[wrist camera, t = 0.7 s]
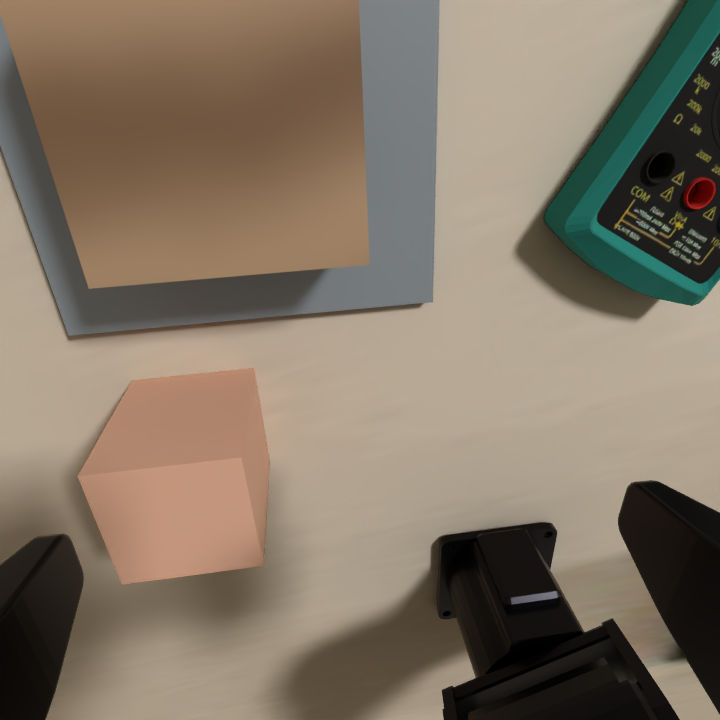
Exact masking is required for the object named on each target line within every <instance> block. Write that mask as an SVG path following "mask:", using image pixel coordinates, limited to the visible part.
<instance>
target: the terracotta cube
mask: <svg viewBox="0 0 720 720" xmlns="http://www.w3.org/2000/svg"><path fill="white" fill-rule="evenodd" d="M269 468H270V458H269V453H268V447H267V441H266V435H265V429H264V423H263V417H262V412H261V406H260V400H259V394H258V388H257V382H256V376H255V370H254V368H249V369H239V370H229V371H220V372H210V373H200V374H190V375H180V376H170V377H160V378H150V379H140V380H132V381H131V383H130V385H129V387H128V388H127V390H126V392H125V394H124V395H123V397H122V399H121V401H120V402H119V404H118V406H117V408H116V409H115V411H114V413H113V415H112V416H111V418H110V420H109V422H108V424H107V425H106V427H105V429H104V431H103V432H102V434H101V436H100V438H99V439H98V441H97V443H96V445H95V446H94V448H93V450H92V452H91V453H90V455H89V457H88V459H87V460H86V462H85V464H84V466H83V467H82V469H81V471H80V473H79V474H78V476H77V477H78V479H79V481H80V484H81V486H82V489H83V491H84V494H85V496H86V498H87V501H88V503H89V506H90V508H91V511H92V513H93V516H94V518H95V520H96V523H97V525H98V528H99V530H100V533H101V535H102V537H103V540H104V542H105V545H106V547H107V550H108V552H109V555H110V557H111V559H112V562H113V564H114V567H115V569H116V572H117V574H118V577H119V579H120V581H121V584H122V585H124V584H131V583H139V582H146V581H154V580H161V579H169V578H176V577H184V576H191V575H199V574H206V573H214V572H221V571H229V570H236V569H244V568H251V567H259V566H264V550H265V534H266V517H267V501H268V485H269Z"/></svg>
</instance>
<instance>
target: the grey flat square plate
mask: <svg viewBox="0 0 720 720" xmlns="http://www.w3.org/2000/svg"><path fill="white" fill-rule="evenodd" d="M359 15H360V39H361V64H362V88H363V113H364V137H365V162H366V186H367V211H368V235H369V260H370V265H362V266H350V267H339V268H327V269H315V270H303V271H292V272H280V273H268V274H257V275H245V276H233V277H221V278H210V279H198V280H186V281H174V282H163V283H151V284H139V285H127V286H116V287H104V288H92V289H89V288H88V285H87V281H86V278H85V275H84V272H83V269H82V266H81V263H80V260H79V257H78V254H77V250H76V247H75V244H74V241H73V238H72V235H71V232H70V229H69V226H68V223H67V220H66V216H65V213H64V210H63V207H62V204H61V201H60V198H59V195H58V192H57V189H56V185H55V182H54V179H53V176H52V173H51V170H50V167H49V164H48V161H47V158H46V154H45V151H44V148H43V145H42V142H41V139H40V136H39V133H38V130H37V127H36V123H35V120H34V117H33V114H32V111H31V108H30V105H29V102H28V99H27V96H26V92H25V89H24V86H23V83H22V80H21V77H20V74H19V71H18V68H17V65H16V61H15V58H14V55H13V52H12V49H11V46H10V43H9V40H8V37H7V34H6V30H5V27H4V24H3V21H2V18H1V15H0V147H1V150H2V152H3V155H4V158H5V161H6V164H7V166H8V169H9V172H10V175H11V177H12V180H13V183H14V186H15V189H16V191H17V194H18V197H19V200H20V202H21V205H22V208H23V211H24V214H25V216H26V219H27V222H28V225H29V227H30V230H31V233H32V236H33V239H34V241H35V244H36V247H37V250H38V252H39V255H40V258H41V261H42V264H43V266H44V269H45V272H46V275H47V277H48V280H49V283H50V286H51V289H52V291H53V294H54V297H55V300H56V303H57V305H58V308H59V311H60V314H61V316H62V319H63V322H64V325H65V328H66V330H67V333H68V336H72V335H83V334H93V333H104V332H115V331H126V330H136V329H147V328H158V327H169V326H180V325H190V324H201V323H212V322H223V321H234V320H244V319H255V318H266V317H277V316H288V315H298V314H309V313H320V312H331V311H342V310H352V309H363V308H374V307H385V306H395V305H406V304H417V303H428V302H433V273H434V227H435V181H436V135H437V88H438V42H439V0H359Z"/></svg>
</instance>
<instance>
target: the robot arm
mask: <svg viewBox="0 0 720 720" xmlns="http://www.w3.org/2000/svg"><path fill="white" fill-rule="evenodd" d="M618 526H619V530H620V533H621V535H622V538H623V540H624V542H625V544H626V546H627V548H628V550H629V552H630V554H631V556H632V558H633V560H634V562H635V564H636V566H637V568H638V570H639V573H640V575H641V577H642V579H643V581H644V583H645V585H646V587H647V589H648V591H649V593H650V595H651V597H652V599H653V601H654V603H655V605H656V607H657V609H658V611H659V613H660V615H661V617H662V619H663V621H664V622H665V624H666V626H667V628H668V629H669V631H670V633H671V635H672V636H673V638H674V640H675V641H676V643H677V645H678V646H679V648H680V650H681V651H682V653H683V654H684V656H685V658H686V659H687V661H688V663H689V664H690V666H691V668H692V669H693V671H694V673H695V674H696V676H697V678H698V679H699V681H700V683H701V684H702V686H703V688H704V689H705V691H706V693H707V694H708V696H709V697H710V699H711V701H712V702H713V704H714V706H715V707H716V709H717V711H718V712H719V714H720V513H719V512H717V511H715V510H713V509H711V508H709V507H707V506H705V505H704V504H702V503H700V502H698V501H696V500H694V499H692V498H690V497H688V496H686V495H684V494H682V493H680V492H678V491H676V490H674V489H672V488H670V487H668V486H666V485H664V484H662V483H660V482H658V481H652V480H650V481H639V482H633V483H631V484H630V485H629V486H628V487H627V490H626V493H625V496H624V500H623V503H622V506H621V510H620V513H619V517H618ZM556 537H557V530H556V529H555V527H554V526H553V524H552V523H539V524H532V525H524V526H517V527H510V528H502V529H495V530H487V531H480V532H472V533H465V534H457V535H450V536H446V537H444V538H442V539H441V540H440V543H439V563H438V589H437V611H438V615H439V617H440V618H441V619H450V618H457V621H458V624H459V627H460V630H461V633H462V636H463V639H464V642H465V646H466V649H467V652H468V655H469V658H470V661H471V664H472V668H473V671H474V674H475V677H476V678H475V679H473V680H470V681H468V682H466V683H463V684H461V685H458V686H456V687H453V686H450V687H448V688H446V689H443V690H442V695H443V702H444V709H443V717H444V720H680V719H679V718H678V716H677V715H676V713H675V711H674V710H673V708H672V707H671V705H670V703H669V702H668V700H667V699H666V697H665V696H664V694H663V693H662V691H661V690H660V688H659V687H658V685H657V684H656V682H655V681H654V679H653V678H652V676H651V675H650V673H649V672H648V670H647V669H646V667H645V666H644V664H643V663H642V661H641V660H640V658H639V657H638V655H637V654H636V652H635V651H634V649H633V648H632V647H631V645H630V644H629V642H628V641H627V639H626V638H625V636H624V635H623V633H622V632H621V630H620V629H619V627H618V626H617V624H616V623H615V621H614V620H613V618H612V619H609V620H607V621H605V622H602V625H601V626H599V627H596V628H594V629H592V630H589V631H587V632H584V631H583V629H582V627H581V625H580V623H579V621H578V620H577V618H576V616H575V614H574V612H573V611H572V609H571V607H570V605H569V603H568V601H567V600H566V598H565V596H564V594H563V592H562V591H561V589H560V587H559V585H558V583H557V582H556V580H555V578H554V576H553V574H552V572H551V571H550V568H551V563H552V557H553V552H554V547H555V542H556ZM83 581H84V576H83V570H82V567H81V564H80V562H79V559H78V556H77V554H76V551H75V548H74V546H73V543H72V541H71V539H70V537H69V536H68V535H66V534H54V535H43V536H38V537H36V538H34V539H33V540H31V541H30V542H29V543H27V544H26V545H25V546H23V547H22V548H21V549H20V550H18V551H17V552H16V553H15V554H13V555H12V556H11V557H9V558H8V559H7V560H6V561H4V562H3V563H2V564H1V565H0V720H45V719H46V717H47V714H48V711H49V708H50V705H51V702H52V699H53V697H54V694H55V690H56V687H57V683H58V680H59V676H60V673H61V669H62V665H63V661H64V657H65V653H66V649H67V646H68V642H69V638H70V634H71V630H72V626H73V623H74V619H75V615H76V611H77V607H78V603H79V599H80V596H81V592H82V588H83Z"/></svg>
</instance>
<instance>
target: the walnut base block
mask: <svg viewBox="0 0 720 720" xmlns="http://www.w3.org/2000/svg"><path fill="white" fill-rule="evenodd" d="M0 15H1V18H2V21H3V24H4V27H5V30H6V34H7V37H8V40H9V43H10V46H11V49H12V52H13V55H14V58H15V61H16V65H17V68H18V71H19V74H20V77H21V80H22V83H23V86H24V89H25V92H26V96H27V99H28V102H29V105H30V108H31V111H32V114H33V117H34V120H35V123H36V127H37V130H38V133H39V136H40V139H41V142H42V145H43V148H44V151H45V154H46V158H47V161H48V164H49V167H50V170H51V173H52V176H53V179H54V182H55V185H56V189H57V192H58V195H59V198H60V201H61V204H62V207H63V210H64V213H65V216H66V220H67V223H68V226H69V229H70V232H71V235H72V238H73V241H74V244H75V247H76V250H77V254H78V257H79V260H80V263H81V266H82V269H83V272H84V275H85V278H86V281H87V285H88V288H89V289H92V288H104V287H116V286H127V285H139V284H151V283H163V282H174V281H186V280H198V279H210V278H221V277H233V276H245V275H257V274H268V273H280V272H292V271H303V270H315V269H327V268H339V267H350V266H362V265H370V260H369V235H368V211H367V186H366V162H365V137H364V113H363V88H362V64H361V39H360V15H359V0H0Z"/></svg>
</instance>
